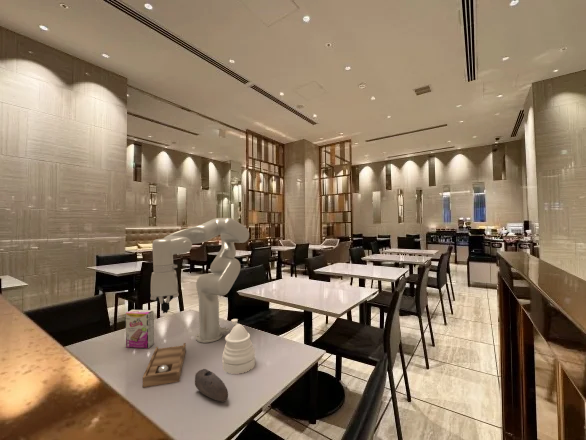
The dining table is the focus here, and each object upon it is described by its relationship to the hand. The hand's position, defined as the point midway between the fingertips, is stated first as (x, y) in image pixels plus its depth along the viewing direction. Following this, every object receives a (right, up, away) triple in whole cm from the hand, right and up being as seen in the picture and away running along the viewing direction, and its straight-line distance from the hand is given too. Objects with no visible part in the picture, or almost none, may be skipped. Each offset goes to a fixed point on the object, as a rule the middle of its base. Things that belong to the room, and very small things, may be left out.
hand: (165, 311), depth 116 cm
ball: (+4, -19, -11) cm, 22 cm away
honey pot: (+31, -21, -4) cm, 38 cm away
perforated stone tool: (+26, -21, -23) cm, 41 cm away
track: (+3, -21, -4) cm, 21 cm away
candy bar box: (-18, -21, +14) cm, 31 cm away
